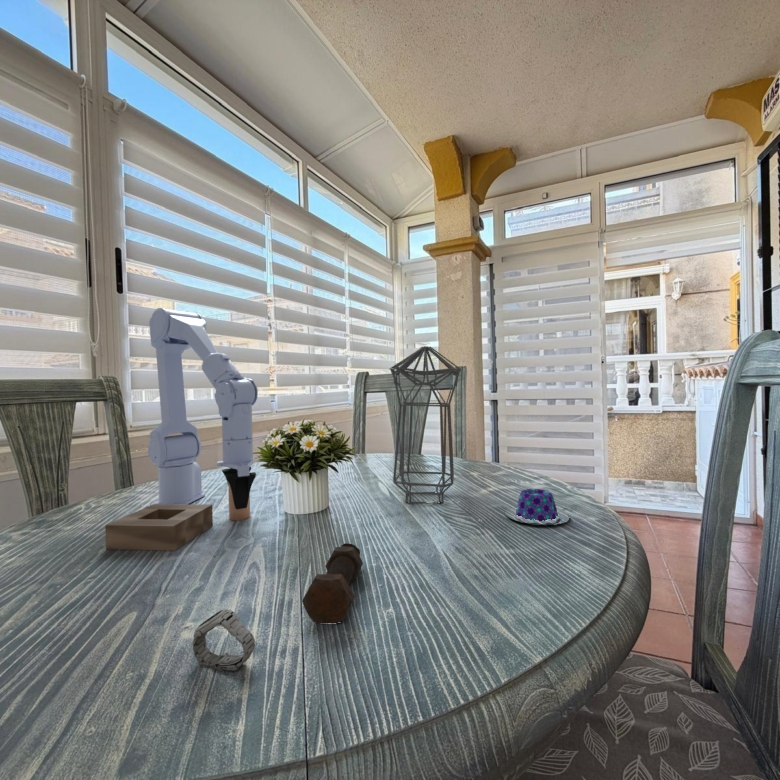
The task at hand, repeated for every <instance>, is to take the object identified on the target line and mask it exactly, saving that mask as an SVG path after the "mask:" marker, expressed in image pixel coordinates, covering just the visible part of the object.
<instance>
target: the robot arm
mask: <svg viewBox="0 0 780 780" xmlns="http://www.w3.org/2000/svg"><path fill="white" fill-rule="evenodd" d="M148 323H149V335H150V337H149V338H150V344H151V347H153V348H154V349H155V357H156V365H157V377H158V379H157V381H158V392H159V402H160V403H159V404H160V405H159V406H160V415H161V416H160V417H161V419H160V420H161V423H159V424H158V425H157V426H156V427H155V428H153V429H152V430H151V432H149V442H148V443H149V444H148V448H147V453H148V458H149V460H150V461H151V463H153V465H154V466H155V467H157V469H158V470H157V476H158V477H157V479H158V500H157V501H154V502H153V503H150V504H149V506H150V505H153V504H191V503H193V502H195V501H197V500H199V499H201V498H203V497H206V493H202V492H203V488H202V469H201V466H200V465H199V463H198V462H197V459H198V457H199V456H200V455H201V453H202V452H201V451H202V442H201V439H200V437H199V434H198V433H199V432H198V428H197V427H196V426H195V425H194V424H192V423H191V422H189V421H188V419H187V410H186V409H187V408H186V407H187V406H186V397H185V395H186V393H185V385H184V383H185V382H184V372H183V359H182V355H183V353H184V351H186V350H189V349H192V350H193V351H194V352H195V353H196V354H197V356H198V357H199V358H200V359H201V360H202V363H201V370H202V372H203V373H204V375H205V376H206V378H207V379H208V380H209V383H211V385H212V386H213V388H214V389H215V393H214V400H215V402H216V406H217V407H218V415H219V417H221V427H222V428H221V429H222V430H221V432H222V433H221V436H222V460H220V461H219V460H218V461H216V466H217V467H225V468H223V469H221V472H222V473H223V475H224V478H225V480H226V483H227V484H228V482H229V484H230V487H231V491H232V496H233V501H234V505H235V508H236V509H242V508H247V505H248V500H249V494H250V495H251V489H252V486H253V483H254V481H255V479H256V476H257V473H256V472H254V471H253V472H251V470H252V466H253V465H254V463H255V458H254V450H253V449H254V447H253V446H254V444H253V408H252V407H253V406H254V405H255V403H256V402H257V400H258V396H259V395H258V394H259V392H258V386H257V385H256V383H255V380H254V379H252V378H247V377H246V376H245V375H242V374H241V373H240V371H239V370H238V369H237V367H236V366H235V365H234V364H233V362H232V361H231V358H230V356H229V355H228V354H225V353H223V352H218V350H217V348H216V347H215V346H214V343H213V341H212V339H210V338H211V337H209V335H208V333H207V332H206V330H207V322H206V320H205V319H204V318H203V316H202V315H201V313H198V312H189V311H188V312H187V311H181V310H180V311H179V310H174V309H166V308H164V307H158V308H156V309H155V310H154V311H153V313H152V314H151V317H150V319H149V322H148ZM172 434H173V435H172ZM174 434H175V435H174ZM176 434H177V435H176Z"/></svg>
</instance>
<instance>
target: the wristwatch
mask: <svg viewBox="0 0 780 780" xmlns="http://www.w3.org/2000/svg"><path fill="white" fill-rule="evenodd" d="M218 626H221V627H223V628H224V629H225V630H226V631H228V633H229V635H231V636H232V637H234V638H235V639H236V641H237V642H238V643H239V644H240V645H241V646H242V651H243V653H242V654H241V653H240V654H238V655H235V654H234V655H232V654H229V653H228V652H225V653H224V654H220V655H218V654H216V653H214V652H212V651H211V650H210V649H209V647H208V646H207V645H206V644H207V640H206V636H207V635H208V633H209V632H210V631H212V630H214V629H215V628H216V627H218ZM255 648H256V641H255V638H254V634H253V633H252V632H251V630H249V629H248V628H247V627H246V626H245V625H244V624H243V622H242V621H241V620H240V618H239V617H238V615H237V613H236V612H234V611H233V610H232V609H227V608H223V609H221V610H219V611H218V612H216V613H214V614H213V615H212V616H210V617H209V618H207V619H206V620H204V621H203V622H202V623H200V624H199V625H198V626H197V627H196V628H195V630H194V634H193V640H192V651H193V654H194V657H195V659H196V661H197V662H198V664H199V665H200V666H202V667H206V668H211V669H215V670H217V671H219V670H220V671H221V672H225V670H226V672H235V671H237V670H238V669H239V668H241V666H242V665H243V664H244V663H245V662H247V661H248V659H250V657H251V655H252V654H253V652H254V651H255Z"/></svg>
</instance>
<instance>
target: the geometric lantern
mask: <svg viewBox="0 0 780 780" xmlns="http://www.w3.org/2000/svg"><path fill="white" fill-rule="evenodd" d="M430 353H431V354H432V355H433V356H434V357H436V359H438V361H440V363H442V364H443V365H444V366H445V367H446V368H442V369H441V368H440V369H436V368H435V366H434V361H433V360H432V357H431V355H430ZM422 357H423V365H422V370H419V369H418V370H417V368H418V366H419V364H420V361H421V358H422ZM416 359H417V360H416ZM415 361H416V363H415V365H414V367H413V368H409V367H410V366H411V365H412V364H413V363H414V362H415ZM428 361H429V362H430V365H431V370H429V362H428ZM388 370H390V374H391V375H392V378H393V385H394V387H395V391H396V397H397V398H396V399H397V401H398V402H397V403H398V406H399V408H398V415H397V416H398V419H397V429H396V431H397V432H396V441H395V442H396V443H395V452H394V454H395V455H394V463H393V464H394V465H393V466H394V468H393V478H392V482H393V484H394V485H395V486H397V487H398V488H399V489H400V490H401V491H403V492H404V494H405V496H404V503H405V502H409V503H408V504H427V503H426V502H427V501H412V495H431V496H432V495H433V496H437V497H438V502H441V501H443V502H444V494H445V492H446V491H447V490H449V488H451V487H452V486H453V485H454V481H455V480H454V479H455V470H454V453H453V452H454V451H453V433H452V432H453V431H452V414H451V413H452V412H451V403H452V399H453V397H454V393H455V391H456V387H458V381H459V376H460V374H461V373H460V372H461V371H462V368H460V366H458V365H456V364H455V363H454V362H453V361H451V360H450V359H448V358H447V357H445V356H444V355H443V354H442V353H440V352H439V351H437V350H436V349H434V347H432V346H426V345H423V346H420V348H418V349H417V350H416V351H414V352H413V353H411V354H410V355H408V356H406V357H405V358H404V359H402V360H401V361H399V362H397V363H396V364H394V365H392V366H391V367H390V368H389V369H388ZM400 374H401V375H402V376H404V377H405V378H406V379H407V380H409V381H410V382H411V383H413V384H414V385H413V387H411V389H410V391H409V393H408V395H406V397H405V395H404V392H403V390H402V387H401V377H400ZM411 374H412V375H411ZM416 375H419V376H423V379H422V380H420V379H418V378H417V377H416ZM451 375H453V376H454V380H453V384H451V387H450V389H449V392H448V396H447V399H446V401H445V399H444V398H443V396H442V394H441V393H440V391H439V390H438V388H437V386H438V385H439V384H440V383H442V381H444V380H446V379H447V378H448V377H449V376H451ZM429 376H434V378H433V379H431V380H430V381H429ZM425 380H426V382H425ZM436 381H437V382H436ZM417 382H418V383H417ZM416 386H417V387H418V388H417V390H416V391H415V393H414V395H413V397H412V398H411V401H407V400H408V399H409V397H410V396H411V394H412V391H413V390H414V389H415V387H416ZM423 386H428V387H429V388H430V389H431V391H432V393H433V395H434V397H435V399H436V400H437V402H421V401H420V402H414V401H415V399H416V397H417V396H418V394H419V392H420V390H421V389H422V387H423ZM399 389H400V392H401V395H402V397H403V400H404V401H403V402H401V397H400V392H399ZM436 391H437V392H436ZM438 395H439V397H440V398H439V397H438ZM440 399H441V400H440ZM441 401H443V402H441ZM408 406H409V407H410V412H409V427H408V428H409V430H408V431H409V432H408V433H409V434H408V450H407V465H406V466H407V468H406V470H405V469H404V468H405V427H406V426H405V425H406V417H407V415H406V414H407V407H408ZM414 407H439V414H440V416H439V418H440V419H439V420H440V421H439V422H440V423H439V424H440V447H441V449H440V452H441V456H440V457H441V471H419V470H418V471H416V470H415V471H413V470H410V467H411V463H410V462H411V447H412V427H413V408H414ZM443 411H444V413H443ZM443 415H444V416H443ZM401 419H402V420H401ZM401 421H402V422H401ZM400 431H401V440H400ZM447 434H448V452H449V471H450V472H446V465H447V463H446V462H447V461H446V460H447V459H446V458H447V456H446V453H447ZM400 441H401V442H400ZM399 442H400V456H399V468H398V467H397V466H398V465H397V464H398V455H399ZM397 468H398V473H397ZM404 474H406V476H407V481H406V479H405V475H404ZM410 474H420V475H423V474H424V475H441V476H440V478H439V481H438V482H437V483H426V482H425V483H424V482H423V483H422V482H411V480H410ZM445 475H446V476H449V477H448V478H447V479H446V477H445ZM399 478H401V480H400V481H399V480H398V479H399ZM445 479H446V480H445ZM449 481H450V482H449ZM448 482H449V483H448ZM401 485H402V486H403V487H402V486H401ZM412 486H415V487H417V486H418V487H435V489H436V490H435V491H412ZM435 492H437V493H435ZM408 495H409V497H408ZM440 495H441V496H440ZM408 498H409V499H408ZM408 500H409V501H408Z"/></svg>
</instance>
